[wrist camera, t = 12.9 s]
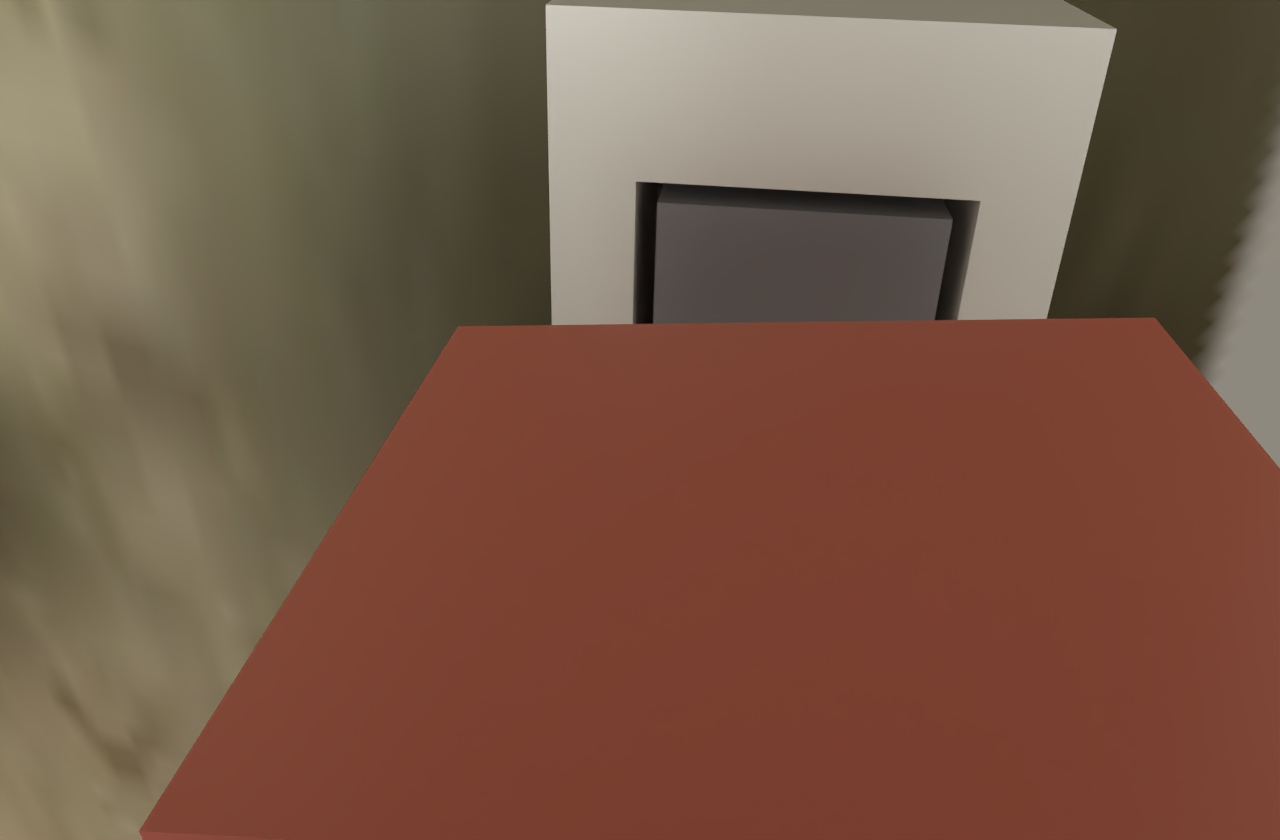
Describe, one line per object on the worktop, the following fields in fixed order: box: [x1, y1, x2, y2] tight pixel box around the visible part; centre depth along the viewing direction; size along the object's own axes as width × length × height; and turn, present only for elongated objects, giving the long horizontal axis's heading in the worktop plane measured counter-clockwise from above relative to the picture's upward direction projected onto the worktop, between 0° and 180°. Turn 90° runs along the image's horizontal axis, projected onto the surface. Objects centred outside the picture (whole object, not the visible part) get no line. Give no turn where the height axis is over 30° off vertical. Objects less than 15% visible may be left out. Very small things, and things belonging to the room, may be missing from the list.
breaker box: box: [546, 0, 1117, 325], centre depth 17 cm, size 10×7×4 cm
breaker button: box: [653, 183, 953, 324], centre depth 16 cm, size 5×4×3 cm
